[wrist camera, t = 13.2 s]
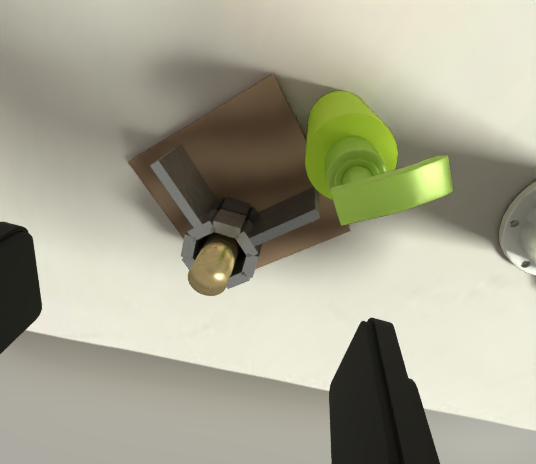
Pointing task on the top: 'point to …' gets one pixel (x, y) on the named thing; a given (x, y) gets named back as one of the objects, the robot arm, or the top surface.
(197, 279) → the hinge pin
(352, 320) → the top surface
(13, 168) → the top surface
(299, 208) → the hinge
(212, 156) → the hinge base
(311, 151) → the soap dispenser
